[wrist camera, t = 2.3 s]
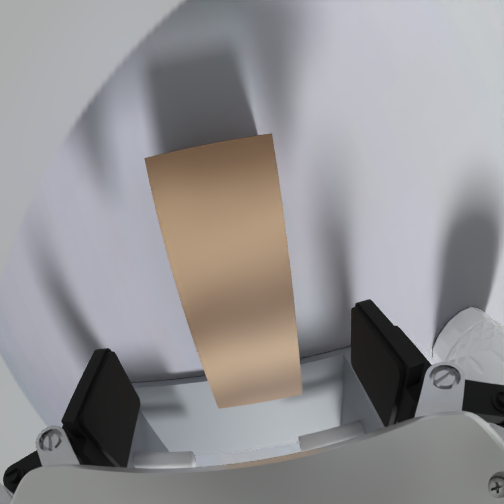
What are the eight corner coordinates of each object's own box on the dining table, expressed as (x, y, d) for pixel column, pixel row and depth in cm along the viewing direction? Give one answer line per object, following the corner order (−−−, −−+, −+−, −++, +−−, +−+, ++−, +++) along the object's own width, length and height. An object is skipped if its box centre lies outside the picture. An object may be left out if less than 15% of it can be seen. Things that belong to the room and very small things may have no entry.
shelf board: (167, 153, 15) (144, 158, 11) (257, 136, 16) (271, 133, 11) (218, 356, 21) (218, 408, 16) (287, 344, 21) (302, 394, 16)
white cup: (495, 305, 22) (557, 359, 13) (459, 368, 25) (506, 428, 15) (454, 295, 21) (530, 364, 11) (412, 368, 23) (464, 446, 14)
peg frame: (355, 344, 21) (426, 473, 10) (349, 423, 25) (387, 521, 14) (115, 383, 21) (78, 511, 9) (163, 452, 25) (154, 551, 14)
